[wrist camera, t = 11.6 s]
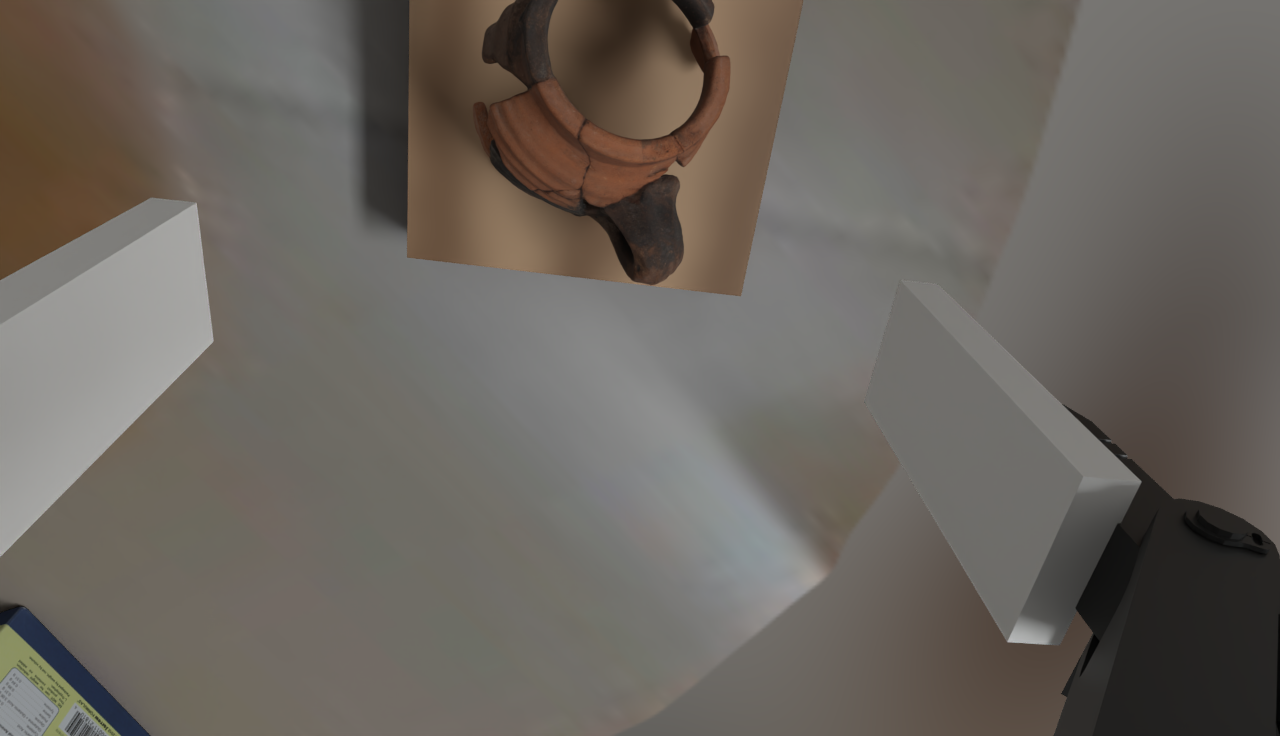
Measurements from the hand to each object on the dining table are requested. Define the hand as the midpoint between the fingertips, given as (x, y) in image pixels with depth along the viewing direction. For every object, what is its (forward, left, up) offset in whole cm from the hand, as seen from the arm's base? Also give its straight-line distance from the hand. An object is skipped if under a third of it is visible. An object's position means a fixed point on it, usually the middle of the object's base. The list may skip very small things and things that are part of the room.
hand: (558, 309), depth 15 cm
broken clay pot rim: (+1, 0, -20) cm, 20 cm away
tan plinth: (+1, +1, -23) cm, 23 cm away
